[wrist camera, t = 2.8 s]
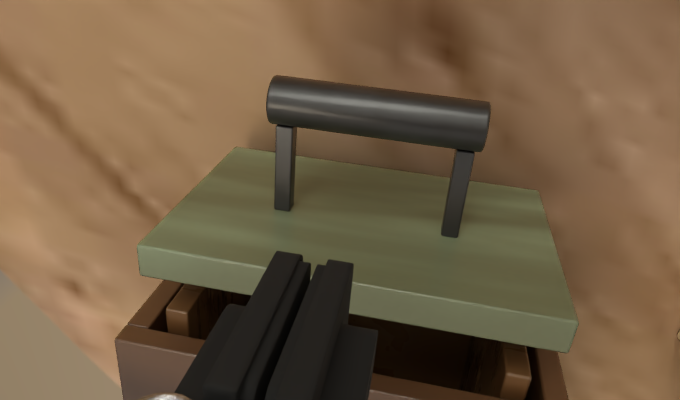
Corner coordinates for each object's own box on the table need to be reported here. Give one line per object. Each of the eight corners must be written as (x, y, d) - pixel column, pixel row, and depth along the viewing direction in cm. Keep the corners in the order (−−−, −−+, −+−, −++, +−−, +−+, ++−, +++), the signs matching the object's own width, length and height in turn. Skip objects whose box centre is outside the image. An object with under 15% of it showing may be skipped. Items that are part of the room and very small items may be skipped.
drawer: (233, 37, 23) (118, 95, 15) (569, 77, 21) (635, 165, 13) (238, 393, 32) (168, 542, 24) (471, 441, 30) (476, 619, 22)
